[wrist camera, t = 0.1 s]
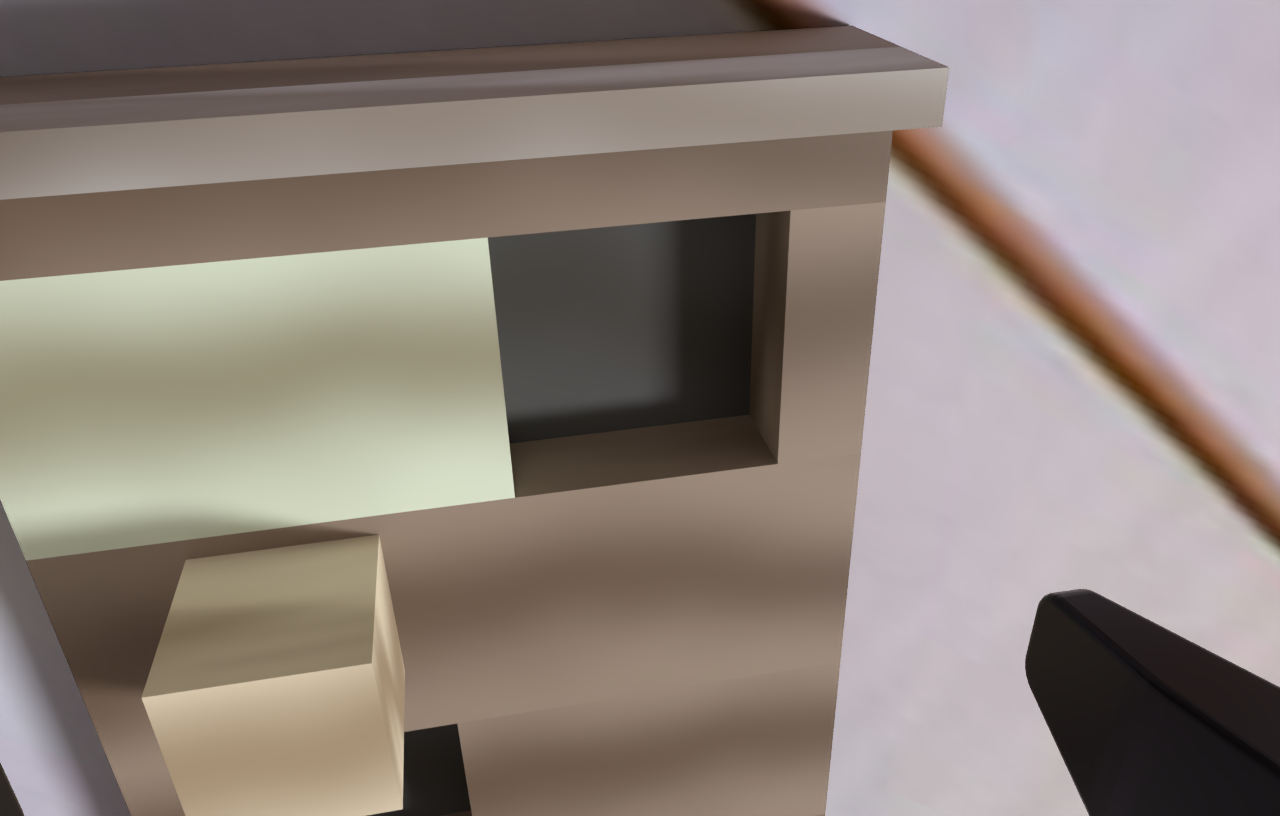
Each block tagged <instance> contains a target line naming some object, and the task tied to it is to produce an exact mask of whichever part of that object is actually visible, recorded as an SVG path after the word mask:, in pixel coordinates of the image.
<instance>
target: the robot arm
mask: <svg viewBox="0 0 1280 816" xmlns="http://www.w3.org/2000/svg"><path fill="white" fill-rule="evenodd" d="M1025 669H1026V676H1027V679H1028V683H1029V686H1030V688H1031V690H1032V693H1033V695H1034V697H1035V699H1036V701H1037V703H1038V706H1039V708H1040V710H1041V712H1042V714H1043V716H1044V719H1045V721H1046V723H1047V725H1048V727H1049V729H1050V732H1051V734H1052V736H1053V738H1054V740H1055V742H1056V745H1057V747H1058V749H1059V751H1060V753H1061V755H1062V758H1063V760H1064V762H1065V764H1066V766H1067V768H1068V771H1069V773H1070V775H1071V777H1072V779H1073V781H1074V784H1075V786H1076V788H1077V790H1078V792H1079V794H1080V797H1081V799H1082V801H1083V803H1084V805H1085V807H1086V810H1087V812H1088V814H1089V816H1280V687H1278V686H1276V685H1274V684H1272V683H1270V682H1268V681H1267V680H1265V679H1263V678H1261V677H1259V676H1257V675H1255V674H1253V673H1251V672H1249V671H1247V670H1245V669H1243V668H1241V667H1239V666H1237V665H1235V664H1233V663H1232V662H1230V661H1228V660H1226V659H1224V658H1222V657H1220V656H1218V655H1216V654H1214V653H1212V652H1210V651H1208V650H1206V649H1204V648H1202V647H1200V646H1198V645H1196V644H1195V643H1193V642H1191V641H1189V640H1187V639H1185V638H1183V637H1181V636H1179V635H1177V634H1175V633H1173V632H1171V631H1169V630H1167V629H1165V628H1163V627H1161V626H1160V625H1158V624H1156V623H1154V622H1152V621H1150V620H1148V619H1146V618H1144V617H1142V616H1140V615H1138V614H1136V613H1134V612H1132V611H1130V610H1128V609H1126V608H1125V607H1123V606H1121V605H1119V604H1117V603H1115V602H1113V601H1111V600H1109V599H1107V598H1105V597H1103V596H1101V595H1099V594H1097V593H1095V592H1093V591H1091V590H1087V589H1077V590H1070V591H1063V592H1056V593H1050V594H1048V595H1045V596H1044V597H1043V598H1042V600H1041V601H1040V602H1039V605H1038V608H1037V612H1036V616H1035V621H1034V625H1033V629H1032V633H1031V637H1030V642H1029V646H1028V650H1027V654H1026V660H1025ZM0 816H24V814H23V811H22V809H21V806H20V804H19V802H18V800H17V798H16V796H15V794H14V791H13V789H12V787H11V785H10V783H9V781H8V778H7V776H6V774H5V772H4V770H3V768H2V765H1V763H0Z"/></svg>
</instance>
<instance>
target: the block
mask: <svg viewBox="0 0 1280 816" xmlns="http://www.w3.org/2000/svg"><path fill="white" fill-rule="evenodd" d="M142 701H143V703H144V706H145V709H146V712H147V714H148V717H149V720H150V722H151V725H152V728H153V730H154V733H155V736H156V738H157V741H158V744H159V746H160V749H161V752H162V754H163V757H164V760H165V762H166V765H167V768H168V770H169V773H170V776H171V778H172V781H173V784H174V786H175V789H176V792H177V794H178V797H179V800H180V802H181V805H182V808H183V810H184V813H185V816H367V815H373V814H379V813H384V812H390V811H396V810H402V809H403V765H404V701H405V668H404V663H403V657H402V652H401V647H400V642H399V636H398V631H397V626H396V621H395V615H394V610H393V605H392V600H391V595H390V589H389V584H388V579H387V574H386V568H385V563H384V558H383V553H382V547H381V542H380V537H379V535H371V536H363V537H356V538H348V539H341V540H333V541H325V542H318V543H310V544H303V545H295V546H287V547H280V548H272V549H265V550H257V551H249V552H242V553H234V554H226V555H219V556H211V557H204V558H196V559H188V560H186V561H185V564H184V567H183V570H182V573H181V576H180V580H179V583H178V586H177V589H176V592H175V595H174V598H173V601H172V604H171V607H170V611H169V614H168V617H167V620H166V623H165V626H164V629H163V632H162V635H161V639H160V642H159V645H158V648H157V651H156V654H155V657H154V660H153V663H152V666H151V670H150V673H149V676H148V679H147V682H146V685H145V688H144V691H143V694H142Z"/></svg>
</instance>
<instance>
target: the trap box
mask: <svg viewBox="0 0 1280 816" xmlns="http://www.w3.org/2000/svg"><path fill="white" fill-rule="evenodd" d="M948 73H949V67H947V66H945V65H942V64H940V63H938V62H935V61H933V60H931V59H928V58H926V57H924V56H921V55H919V54H917V53H914V52H912V51H910V50H907V49H905V48H903V47H900V46H898V45H896V44H894V43H891V42H889V41H887V40H884V39H882V38H880V37H877V36H875V35H873V34H870V33H868V32H866V31H863V30H861V29H859V28H856V27H854V26H836V27H819V28H803V29H787V30H770V31H754V32H737V33H721V34H704V35H688V36H671V37H655V38H638V39H622V40H605V41H589V42H572V43H556V44H539V45H523V46H506V47H490V48H473V49H457V50H440V51H424V52H407V53H391V54H374V55H358V56H341V57H325V58H308V59H292V60H275V61H259V62H242V63H226V64H209V65H193V66H176V67H160V68H143V69H127V70H110V71H94V72H77V73H61V74H44V75H28V76H11V77H0V500H1V502H2V505H3V507H4V510H5V512H6V514H7V517H8V519H9V522H10V524H11V527H12V529H13V531H14V534H15V536H16V539H17V541H18V543H19V546H20V548H21V551H22V553H23V556H24V558H25V560H26V563H27V565H28V568H29V570H30V572H31V575H32V577H33V580H34V582H35V584H36V587H37V589H38V592H39V594H40V597H41V599H42V601H43V604H44V606H45V609H46V611H47V613H48V616H49V618H50V621H51V623H52V626H53V628H54V630H55V633H56V635H57V638H58V640H59V642H60V645H61V647H62V650H63V652H64V655H65V657H66V659H67V662H68V664H69V667H70V669H71V671H72V674H73V676H74V679H75V681H76V684H77V686H78V688H79V691H80V693H81V696H82V698H83V700H84V703H85V705H86V708H87V710H88V713H89V715H90V717H91V720H92V722H93V725H94V727H95V729H96V732H97V734H98V737H99V739H100V741H101V744H102V746H103V749H104V751H105V754H106V756H107V758H108V761H109V763H110V766H111V768H112V770H113V773H114V775H115V778H116V780H117V783H118V785H119V787H120V790H121V792H122V795H123V797H124V799H125V802H126V804H127V807H128V809H129V812H130V814H131V816H185V813H184V810H183V808H182V805H181V802H180V800H179V797H178V794H177V792H176V789H175V786H174V784H173V781H172V778H171V776H170V773H169V770H168V768H167V765H166V762H165V760H164V757H163V754H162V752H161V749H160V746H159V744H158V741H157V738H156V736H155V733H154V730H153V728H152V725H151V722H150V720H149V717H148V714H147V712H146V709H145V706H144V703H143V701H142V694H143V691H144V688H145V685H146V682H147V679H148V676H149V673H150V670H151V666H152V663H153V660H154V657H155V654H156V651H157V648H158V645H159V642H160V639H161V635H162V632H163V629H164V626H165V623H166V620H167V617H168V614H169V611H170V607H171V604H172V601H173V598H174V595H175V592H176V589H177V586H178V583H179V580H180V576H181V573H182V570H183V567H184V564H185V561H186V560H188V559H196V558H204V557H211V556H219V555H226V554H234V553H242V552H249V551H257V550H265V549H272V548H280V547H287V546H295V545H303V544H310V543H318V542H325V541H333V540H341V539H348V538H356V537H363V536H371V535H379V537H380V542H381V547H382V553H383V558H384V563H385V568H386V574H387V579H388V584H389V589H390V595H391V600H392V605H393V610H394V615H395V621H396V626H397V631H398V636H399V642H400V647H401V652H402V657H403V663H404V668H405V701H404V765H403V809H402V810H396V811H390V812H384V813H379V814H373V815H367V816H825V810H826V800H827V790H828V780H829V769H830V759H831V749H832V739H833V729H834V719H835V709H836V699H837V689H838V678H839V668H840V658H841V648H842V638H843V628H844V618H845V608H846V597H847V587H848V577H849V567H850V557H851V547H852V537H853V527H854V517H855V506H856V496H857V486H858V476H859V466H860V456H861V446H862V436H863V426H864V415H865V405H866V395H867V385H868V375H869V365H870V355H871V345H872V335H873V324H874V314H875V304H876V294H877V284H878V274H879V264H880V254H881V244H882V233H883V223H884V213H885V203H886V193H887V183H888V173H889V163H890V153H891V142H892V132H893V130H904V129H917V128H930V127H942V122H943V114H944V106H945V97H946V89H947V81H948Z"/></svg>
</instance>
